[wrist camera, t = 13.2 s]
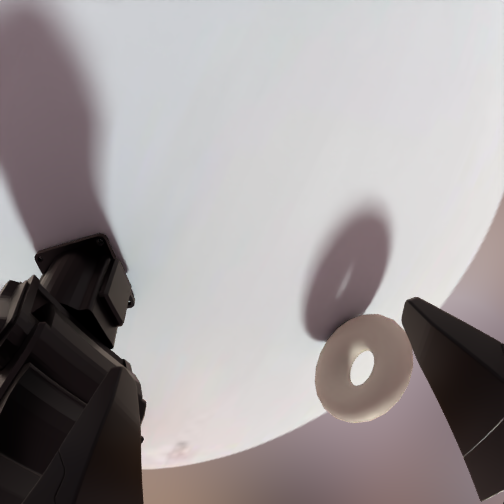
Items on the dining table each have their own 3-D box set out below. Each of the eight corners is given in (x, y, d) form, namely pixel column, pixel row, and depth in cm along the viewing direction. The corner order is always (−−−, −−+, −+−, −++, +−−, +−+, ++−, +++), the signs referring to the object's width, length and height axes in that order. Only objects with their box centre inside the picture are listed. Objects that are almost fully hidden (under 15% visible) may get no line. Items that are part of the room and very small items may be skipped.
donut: (368, 286, 26) (424, 371, 18) (387, 299, 28) (440, 377, 20) (295, 355, 30) (325, 442, 21) (318, 363, 31) (349, 443, 23)
